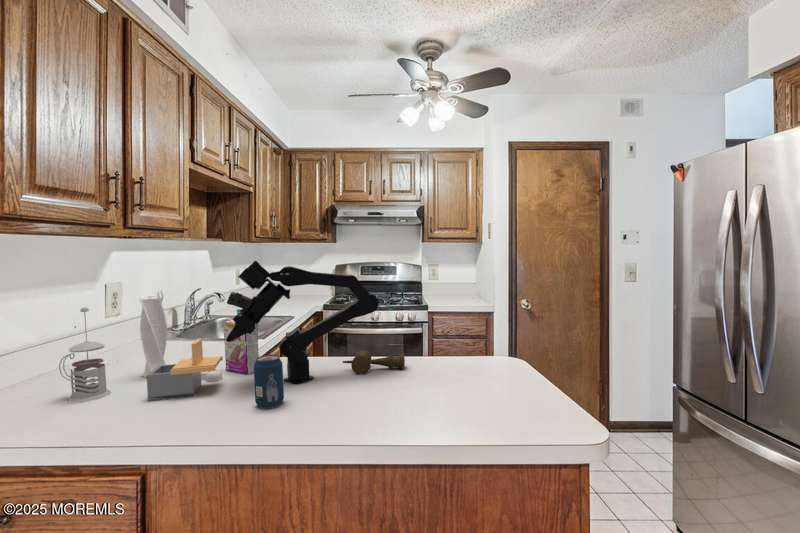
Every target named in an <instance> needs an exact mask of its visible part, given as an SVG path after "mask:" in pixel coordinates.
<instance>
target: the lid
mask: <svg viewBox="0 0 800 533" xmlns="http://www.w3.org/2000/svg"><path fill="white" fill-rule="evenodd" d="M222 361H223V355H221V356H219V355H218V356H209V357H204V353H203V338H197V339H196V340H194V341H193V342H192V343H191V358H187V359H185V358H184V359H180V360H179V361H178V362H177V363H175V364H176V365H175V366H174V367H173V368H172V369H171V370H170V373H171V375H177V374H187V373H197V372H208V371H215V370H217V367H218V365H219V364H220V362H222Z"/></svg>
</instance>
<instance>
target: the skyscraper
mask: <svg viewBox="0 0 800 533" xmlns="http://www.w3.org/2000/svg"><path fill="white" fill-rule="evenodd" d="M160 294H161V296H160ZM139 301H140V304H141V306H142V307H141V312H140V320H139V322H140V324H139V326H140V327H139V329H140V330H139V333H140V341H141V345H142V349H143V350H142V351H143V354H144V356H145V360H146V362H145V367H144V370H143V371H144V372H143V375H141V376H140V377H141V378H144V379H145V378H146V379H147V375H148V374H149V373H150V372H151V371H153V370H154V369H155V368H156V367H157V366H159V365H167V364H166V361H165V359H164V357H165V352H166V348H167V340H168V339H167V338H168V326H167V318H166V314H165V310H164V307H163V301H164V293H163V291H162V290H158V291H157V293H156V294H150V295H147V297H146V296H145V295H142V296H140V297H139Z"/></svg>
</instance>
